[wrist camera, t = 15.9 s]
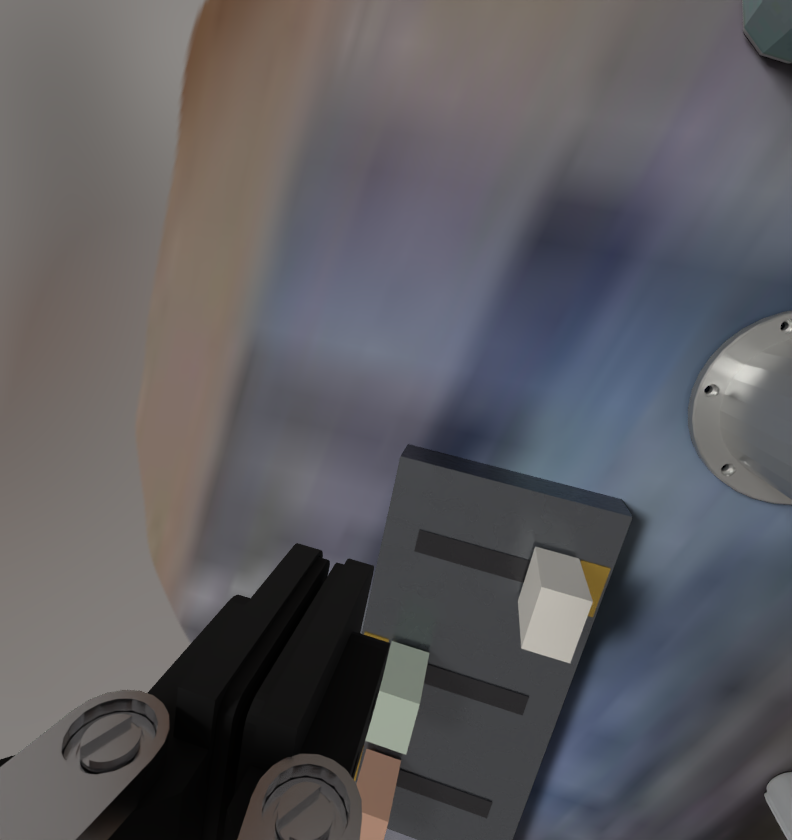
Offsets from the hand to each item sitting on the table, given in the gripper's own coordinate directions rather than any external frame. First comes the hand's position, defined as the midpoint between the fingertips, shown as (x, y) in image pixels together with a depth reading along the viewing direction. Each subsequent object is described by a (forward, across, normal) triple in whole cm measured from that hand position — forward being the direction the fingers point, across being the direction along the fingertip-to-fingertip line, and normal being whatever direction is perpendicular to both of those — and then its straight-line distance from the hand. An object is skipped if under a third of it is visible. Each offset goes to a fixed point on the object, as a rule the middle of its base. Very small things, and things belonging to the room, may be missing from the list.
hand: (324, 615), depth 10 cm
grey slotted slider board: (+27, -6, +22) cm, 35 cm away
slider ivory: (+24, -10, +11) cm, 28 cm away
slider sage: (+24, -2, +22) cm, 33 cm away
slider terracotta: (+24, -2, +33) cm, 41 cm away
